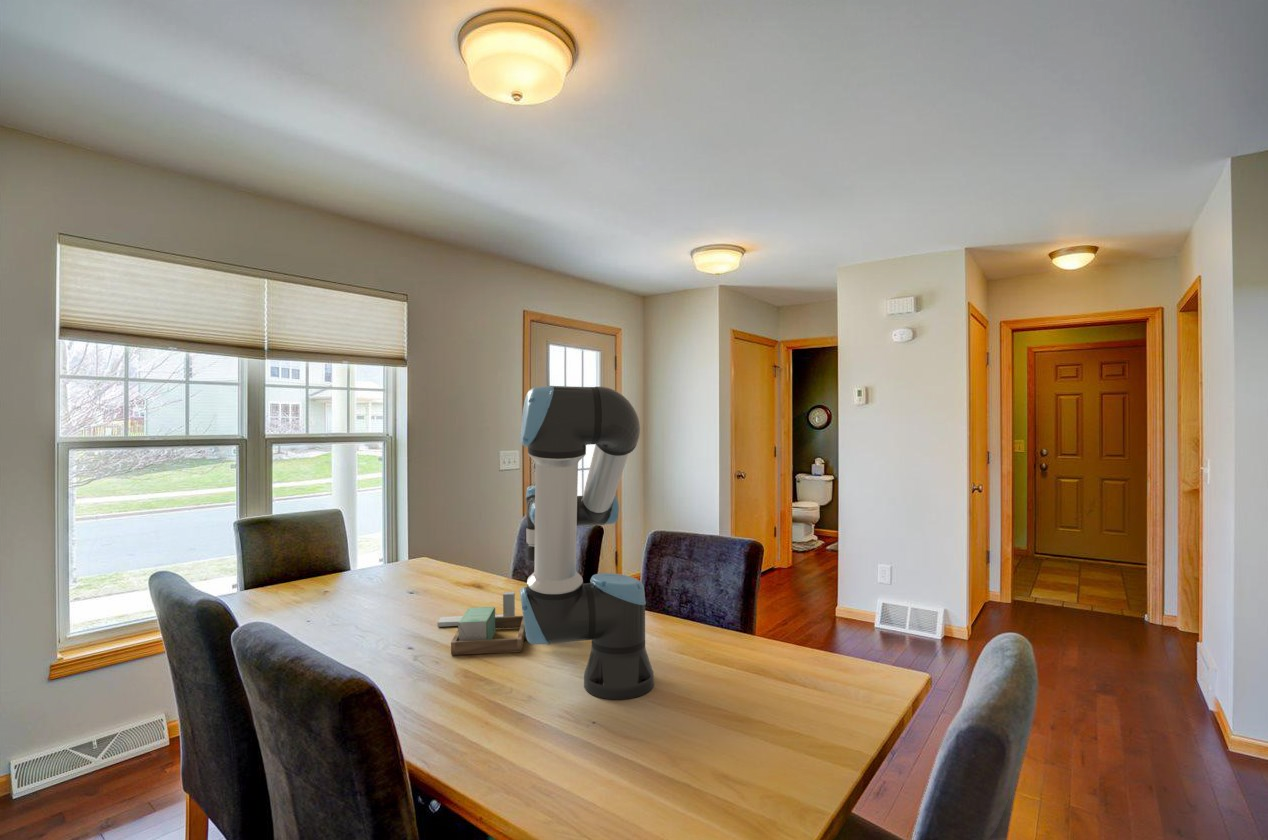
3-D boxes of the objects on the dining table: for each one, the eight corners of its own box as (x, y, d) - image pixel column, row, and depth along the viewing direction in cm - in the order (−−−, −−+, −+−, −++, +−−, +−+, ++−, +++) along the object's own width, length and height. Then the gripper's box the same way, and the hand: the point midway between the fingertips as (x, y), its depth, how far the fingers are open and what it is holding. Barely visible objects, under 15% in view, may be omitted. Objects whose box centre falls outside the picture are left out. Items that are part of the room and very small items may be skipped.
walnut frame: (546, 650, 151) (546, 605, 151) (451, 654, 149) (450, 609, 149) (549, 625, 170) (549, 585, 170) (464, 629, 168) (464, 589, 168)
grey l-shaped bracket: (513, 623, 172) (513, 595, 172) (437, 626, 170) (437, 598, 170) (515, 617, 177) (515, 590, 177) (441, 621, 175) (441, 593, 175)
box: (496, 632, 166) (495, 605, 166) (487, 651, 152) (487, 621, 152) (468, 633, 165) (468, 606, 165) (458, 652, 152) (457, 622, 152)
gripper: (554, 553, 149) (554, 640, 148) (556, 535, 173) (557, 609, 173) (522, 554, 148) (523, 641, 148) (529, 535, 173) (530, 610, 172)
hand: (541, 624), depth 160 cm, fingers open, 13 cm apart
